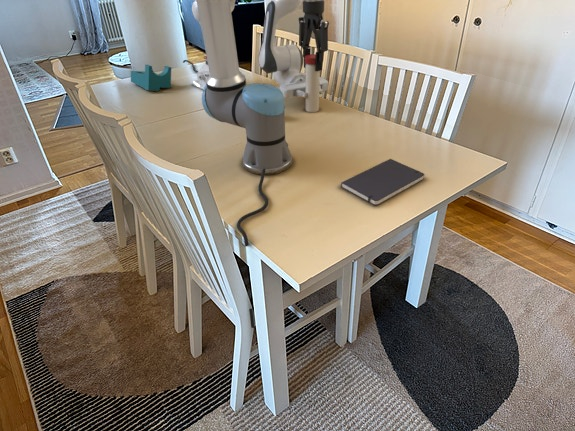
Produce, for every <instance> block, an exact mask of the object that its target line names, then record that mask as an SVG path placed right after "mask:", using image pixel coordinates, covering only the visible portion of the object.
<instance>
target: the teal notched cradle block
mask: <svg viewBox="0 0 575 431" xmlns="http://www.w3.org/2000/svg"><path fill="white" fill-rule="evenodd" d="M130 82H131V83H132V84H134V85H137V86H139V87H140V88H142V89H144V90H146V91H154V92H155V91H156V92H157V91H158V92H160V90H161V88H164V89H166V88H167V89H170V88H171V85H172V67H171V66H168V65H164V68H163V70H162V72H161V73H156V72H154V70H153V66H152V65H150V64H144V71H141V70H130Z"/></svg>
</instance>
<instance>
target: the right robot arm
mask: <svg viewBox="0 0 575 431" xmlns="http://www.w3.org/2000/svg"><path fill="white" fill-rule="evenodd" d="M196 2H197V7H198V12H199V18H200V23H201V26H200V28H201V33H202V40H203V45H204V49H205V56H207V61H208V66H209V72H210V75H209V77H208V78H207V80H206V85H205V87H204V89H202V91H203V92H202V93H201V104H202V107H203V110H204V111H205V113H206V114H207V116H209V117H210V118H212V119H214V120H215V121H218V122H221V123H226V124H229V125H233V126H237V127H239V128H242V129H245V136H246V137H245V138H246V143H245V146H244V151H243V155H242V166H243V168H244V170H246V171H247V172H249V173H252V174H254V175H255V174H256V175H260V179H259V183H258V188H257V190H258V193H259V195H260V196H261V197H262V198H263V201H264V204H263V205H262V206H261V207H260V208H258V209H256V210H253V211H251V212H249V213H246V214H244V215H243V216H241V217H240V218H239V219H238V220H237V223H236V228H237V230H238V231H239V232H240V234H241V235H242V237H243V241H244V242H243V243H244V246H245V247H248V246H249V238H248V235H247V233H246V231H245V230H244V229H243V227H242V226H241V224H242V223H243V221H245V220H246V219H248V218H250V217H253V216H254V215H257V214H259V213H262V212H263V211H264V210H266V208H267V207H268V205H269V199H268V197H267V196H266V194H265V193H264V192H263V188H262V187H263V183H264V180H265V176H269V175H277V174H280V173H283V172H286V171H287V170H289V169H290V167H291V166H292V163H293V157H292V153H291V150H290V148H289V143H288V142H287V140H286V105H285V98H284V96H283V93H282V92H281V90H280V89H278V86H275V85H272V84H269V83H259V82H255V83H249V84H247V80H246V75H245V74H244V73H242V72H241V71H240V66H239V59H238V52H237V44H236V36H235V31H234V22H233V15H232V12H231V8H230V0H196ZM302 12H303V14H304V15H303V16H300V17H299V16H298V25H299V26H298V47H301V48H302V54H303V68H304V69H306V63H305V56H306V55H310V54H311V46H310V44H311V39H312V35H314V40H315V46H316V51H315V54H316V57H315V71H320V72H321V71H323V62H324V53H325V52H328V50H329V31H328V30H329V29H328V28H329V25H330V22H329V20H325V19H324V15H323V14H324V12H325V0H303V1H302ZM200 23H199V24H200ZM248 310H249V321H250V327H251V329H255V318H254V317H255V316H254V311H253V310H254V309H253V308H248Z"/></svg>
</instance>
